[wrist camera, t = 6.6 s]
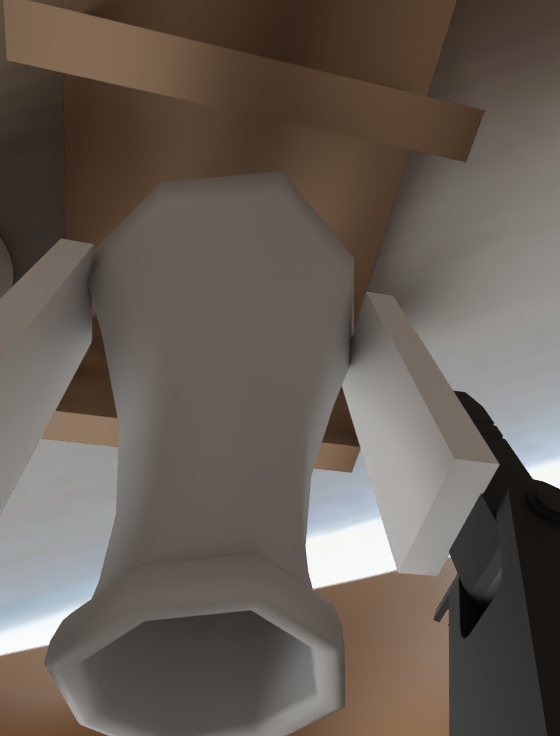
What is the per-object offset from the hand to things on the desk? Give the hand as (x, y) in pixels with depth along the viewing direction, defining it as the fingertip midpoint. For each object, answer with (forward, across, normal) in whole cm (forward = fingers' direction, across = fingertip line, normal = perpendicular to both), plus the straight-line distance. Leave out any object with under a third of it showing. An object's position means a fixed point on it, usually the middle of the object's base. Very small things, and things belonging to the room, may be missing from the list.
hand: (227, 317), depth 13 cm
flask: (+1, 0, 0) cm, 1 cm away
